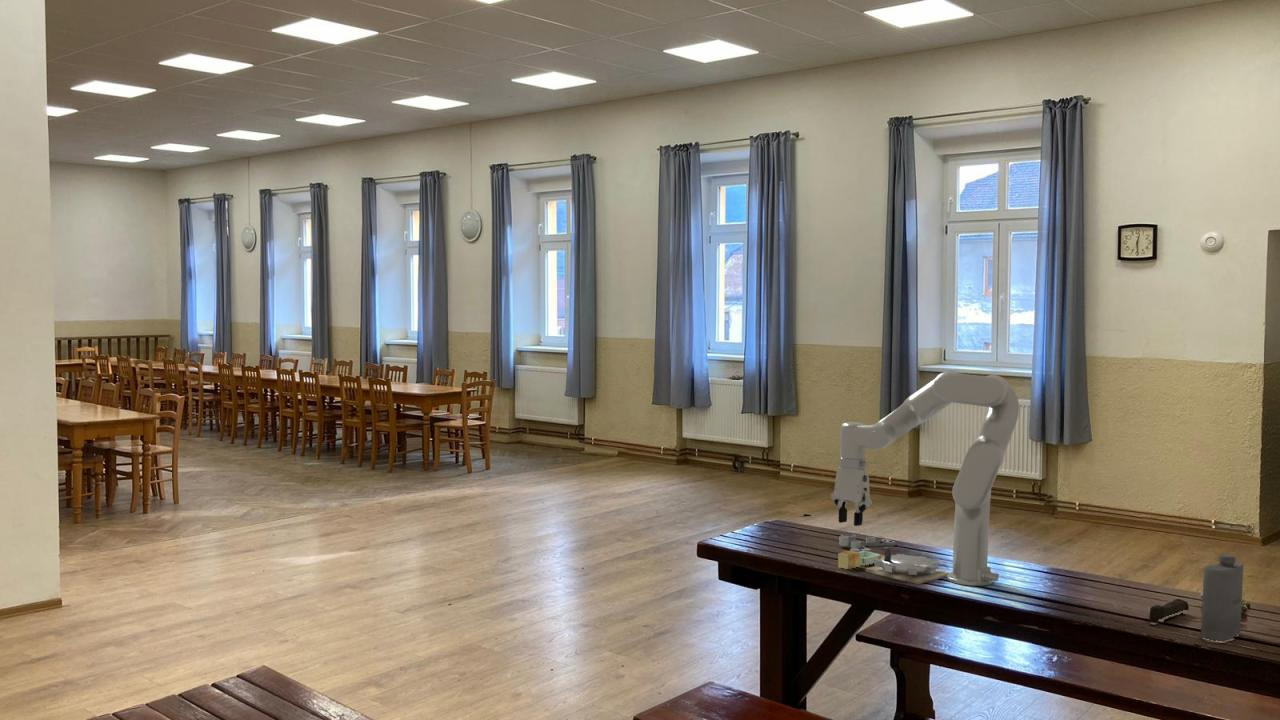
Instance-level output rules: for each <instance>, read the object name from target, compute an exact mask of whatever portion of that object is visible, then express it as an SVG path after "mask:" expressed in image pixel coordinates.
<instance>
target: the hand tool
mask: <svg viewBox="0 0 1280 720" xmlns="http://www.w3.org/2000/svg"><path fill="white" fill-rule="evenodd" d="M1189 609H1190V608H1189V604H1188V601H1186V600H1183V599H1181V598H1175V599H1173V600H1172V601H1171V602H1167V603H1165V604H1164V605H1157V604H1156V605H1154V606H1150V610H1149V616H1148V617H1149V622H1154V621H1158V620H1159V619H1162V618H1164V617H1166V616H1169V615H1172V614H1175V613H1178V612H1180V611H1183V610H1188V611H1189Z"/></svg>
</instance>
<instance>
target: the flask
mask: <svg viewBox="0 0 1280 720" xmlns="http://www.w3.org/2000/svg"><path fill="white" fill-rule="evenodd" d="M1243 580H1244V564H1243V563H1242V562H1240V561H1236V557H1235V556H1233V555H1231V554H1223V553H1222V554H1220V555H1218V563H1216V564H1212V565H1207V566H1204V568H1203V584H1202V586H1203V587H1202V605H1201V607H1202V608H1201V623H1200V625H1201V626H1200V629H1201V630H1200V638H1201V637H1202V638H1205V639H1209V640H1213V641H1216V640H1217V641H1225V640H1229V639H1232V638H1233V637H1235V636H1237V635H1238V634H1239V633H1240V634H1241V623H1242V622H1241V621H1242V604H1243V603H1242V601H1243V599H1242V598H1243V582H1244V581H1243Z"/></svg>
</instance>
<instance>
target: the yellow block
mask: <svg viewBox="0 0 1280 720" xmlns="http://www.w3.org/2000/svg"><path fill="white" fill-rule="evenodd" d="M837 555H838V557H837V568H838V567H839V568H838V569H841V568H844V569H843V570H845V569H850V570H853V569H852V568H855V569H857V568H856V567H859V568H860V567H861V565H860V553H859V552H854V551H850V550H844V551H842V552H838V554H837Z"/></svg>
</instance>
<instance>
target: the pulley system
mask: <svg viewBox="0 0 1280 720" xmlns="http://www.w3.org/2000/svg"><path fill="white" fill-rule="evenodd" d="M867 537H868V538H867ZM884 540H886V541H884ZM838 541H839V543H838V545H839V546H841V547H846V546H849V547H848V548H850V547H851V548H850V550H849V551H854V552H861V551H867V552H872V549H871V548H869V547H893V546H896V541H894V540H890V539H881V540H880V539H879V540H878V541H876V536H866V537H865V542H862V541H860V540H858V539H857V535H855V534H848V533H847V534H841V535H840V536H839V537H838ZM889 541H892V542H889ZM880 542H881V543H880ZM882 542H883V543H882ZM884 545H886V546H884ZM865 546H869V547H865ZM862 547H863V548H864V549H863V548H862Z"/></svg>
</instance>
